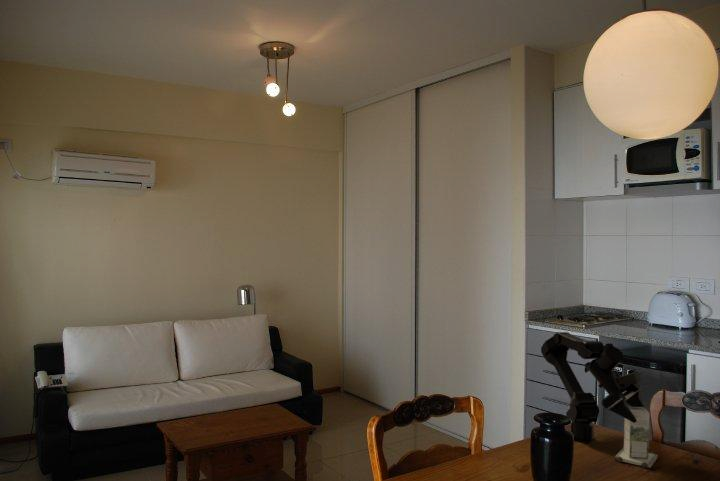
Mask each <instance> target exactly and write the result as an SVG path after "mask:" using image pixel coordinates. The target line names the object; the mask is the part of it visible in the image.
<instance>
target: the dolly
mask: <svg viewBox="0 0 720 481" xmlns="http://www.w3.org/2000/svg"><path fill="white" fill-rule="evenodd" d="M657 459H658V454H656V452H654V451H650V452H649V456H648V459H645V458H629V456H628V455H627V454H626V453H625V452H624V447H622V448H621V449H620V451H618V452H617V454H616V455H615V456H614V460H615V461H617V463H622V462H623V463H628V464H631V465H636V466H641V467H642V468H644V469H647V468H650V469H651V468H652V466H653V465H654V464H655V462H656V460H657Z"/></svg>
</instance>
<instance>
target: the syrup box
mask: <svg viewBox="0 0 720 481" xmlns="http://www.w3.org/2000/svg"><path fill="white" fill-rule="evenodd" d="M628 408H629V409H630V411H631V412H632V414H633V415H634V417H635V418H636V420H637V422H635V423H633V422H631V421H630V420H628V419H626V418H624V417H623V448H624V452H625V453H626V454H627V455H628V456H629V458H645V459H648V456H649V453H650V452H649V445H650V415H651V414H650V412H649V411H648V410H647V409H646V407H645V408H643V407H631V406H628Z"/></svg>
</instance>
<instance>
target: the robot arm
mask: <svg viewBox="0 0 720 481" xmlns="http://www.w3.org/2000/svg"><path fill="white" fill-rule="evenodd" d="M570 349H571V350H574V351H575V352H577V355H578V356H579V357H580V358H582V359H583V360H591V361H588V362H586V363H585V364H584V373H586V374H587V373H589V372H590V374H591V375H592V376H593V377H594V378H595V380H596V381H597V382H598V383H599V384H598V387H599V388H600V389H602V388H603V389H604V391H605V392H606V393H607V396H605V397H604V398H602V400H601V403H600V404H601V406H602V407H603V408H604V410H608V411H610V412H612V413H615V414H616V415H618V416H620V417H622V418H623V419H624V418H626V419H628V420H630V421H631V422H633V423H635V422H637V420H636V418H635V417H634V415H633V414H632V412H631V411H630V409H629V408H628V407H643V408H645V409H646V407H645V405H644V402H643V401H642V398H641V394H642V388H643V387H642V386H641V385H640V384H639V383H640V382H642V378H641V376H642V373H640V372H639V370H636V369H635V368H632V369H628V370H627V373H626V374H624V375H623V374H622V375H621V374H620V373H619V372H616V373H615V371H613V370H614V369H615V368H616V367H618V365H620V363H622V362H623V360H624V353H623V352H622V351H621V350H620V349H619V348H618V347H617V346H616V347H615V346H614V344H613V343H611V342H610V343H606V344H605V345H604V343H603V342H602V341H600V340H587V339H584V338H580V337H579V336H577V335H576V336H575V335H574V334H572V333H570V332H568V331H567V332H566V331H563V332H561V331H560V332H557V331H556V333H555V332H554V334H553V335H552V337H550V338H548V339H547V340H545V341H544V343H543V344H542V346H541V347H540V353H541V355H542V356H543V358H544V359H545V361H546V362H547V363H548V364H550V365H551V366H553V367H554V369H555V371H556V372H557V375H558V376H559V378H560V381H561V382H562V384H563V387H564V388H565V390H566V392H567V394H568V396H569V397H570V401H569V409H568V410H567V411H566V412H565V415H566V418H567V417H568V418H570V419H571V420H572V423H571V422H570V433H571V432H572V433H573V435H574V440H573V441H576V442H581V443H585V444H589V443H590V442H592V441H593V440H594V439H595V426H593V423H598V422H597V421H598V419H599V414H600V408H599V405H598V401H597V400H596V399H595V397H594V395H593V393H592V392H585V391H584V389H583V388H582V386H581V384H580V382H579V380H578V378H577V376H576V375H575V372H574V371H573V369H572V367H571V366H570V363H569V362H568V360H567V358H568V353H569V350H570ZM628 405H629V406H628Z"/></svg>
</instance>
